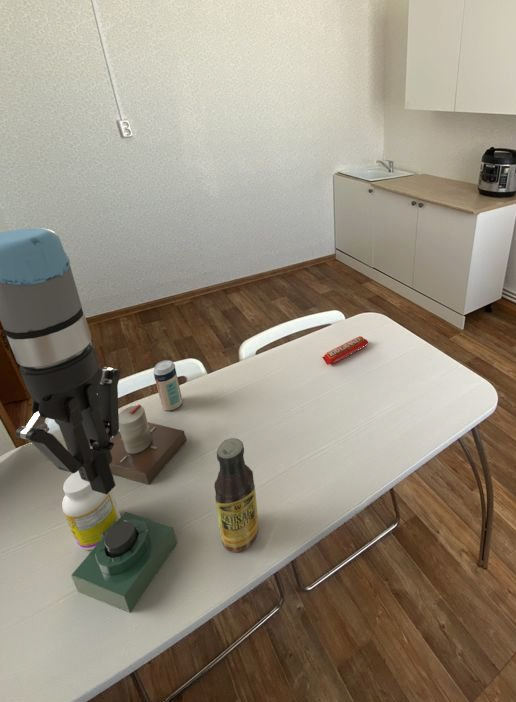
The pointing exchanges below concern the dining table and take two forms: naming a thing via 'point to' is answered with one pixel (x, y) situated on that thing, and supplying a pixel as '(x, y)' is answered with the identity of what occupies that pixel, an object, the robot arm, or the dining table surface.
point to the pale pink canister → (167, 385)
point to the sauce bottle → (235, 497)
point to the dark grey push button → (120, 539)
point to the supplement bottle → (88, 511)
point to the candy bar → (344, 350)
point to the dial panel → (146, 454)
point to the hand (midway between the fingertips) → (104, 487)
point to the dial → (134, 429)
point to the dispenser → (126, 564)
